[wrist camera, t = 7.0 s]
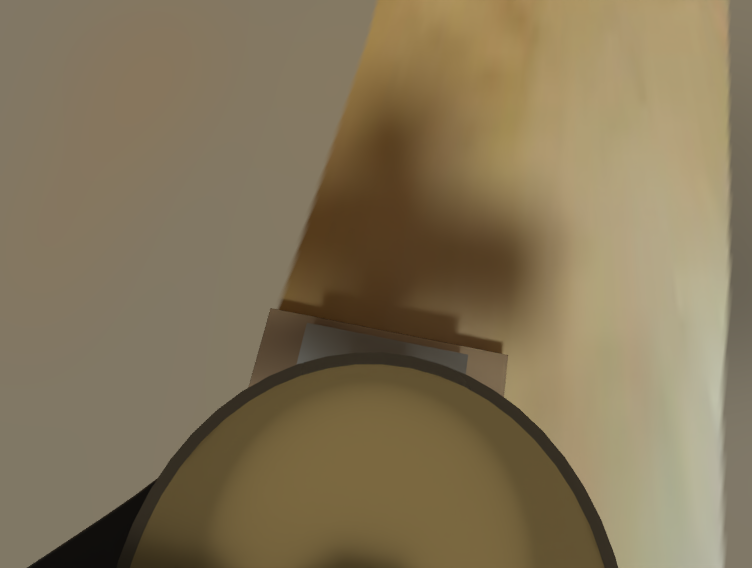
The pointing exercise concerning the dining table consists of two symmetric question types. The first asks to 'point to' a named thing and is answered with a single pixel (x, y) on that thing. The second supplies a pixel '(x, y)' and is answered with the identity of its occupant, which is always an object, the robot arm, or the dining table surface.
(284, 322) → the walnut eye plate
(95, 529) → the robot arm
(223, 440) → the tan cylinder
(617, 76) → the dining table surface
